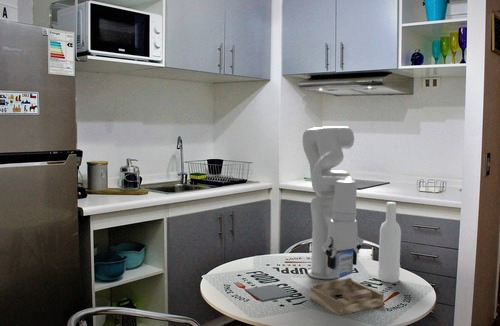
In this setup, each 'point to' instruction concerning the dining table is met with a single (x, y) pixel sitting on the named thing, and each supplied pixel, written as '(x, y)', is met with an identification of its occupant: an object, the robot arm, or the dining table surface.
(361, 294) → the offcut stack
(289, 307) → the dining table surface
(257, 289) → the mat
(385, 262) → the bottle
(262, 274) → the dining table surface
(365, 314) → the dining table surface
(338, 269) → the medicine box
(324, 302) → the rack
